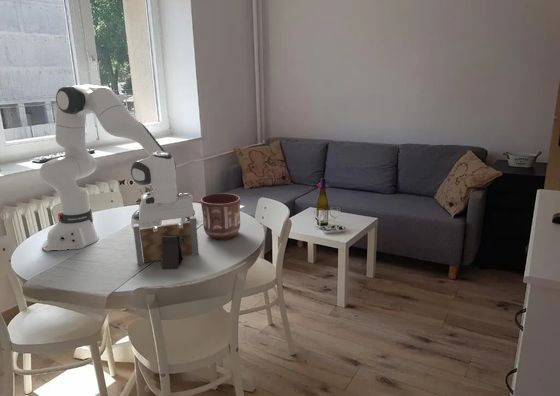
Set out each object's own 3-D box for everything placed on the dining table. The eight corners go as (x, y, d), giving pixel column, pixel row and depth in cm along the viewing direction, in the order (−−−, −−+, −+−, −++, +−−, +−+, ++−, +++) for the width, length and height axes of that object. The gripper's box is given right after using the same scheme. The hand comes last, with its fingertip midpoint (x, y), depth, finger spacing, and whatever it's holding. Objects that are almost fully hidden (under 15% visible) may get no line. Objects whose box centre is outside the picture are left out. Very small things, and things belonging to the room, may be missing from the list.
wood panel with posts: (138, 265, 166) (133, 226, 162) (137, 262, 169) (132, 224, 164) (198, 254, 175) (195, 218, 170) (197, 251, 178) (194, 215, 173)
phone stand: (177, 269, 162) (174, 240, 159) (162, 269, 162) (159, 240, 159) (183, 259, 171) (180, 231, 167) (168, 259, 171) (165, 231, 168)
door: (144, 264, 166) (140, 231, 162) (143, 261, 169) (139, 228, 165) (193, 256, 173) (191, 223, 169) (192, 252, 176) (189, 221, 172)
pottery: (206, 245, 184) (203, 205, 179) (200, 231, 200) (197, 194, 195) (245, 240, 189) (244, 201, 184) (236, 227, 205) (235, 191, 200)
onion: (195, 217, 219) (194, 203, 217) (194, 221, 213) (193, 206, 211) (184, 218, 219) (183, 203, 216) (182, 222, 213) (181, 206, 211)
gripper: (191, 190, 165) (193, 223, 169) (136, 196, 158) (140, 230, 162) (194, 194, 160) (196, 228, 164) (137, 200, 152) (141, 236, 156)
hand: (168, 229), depth 163 cm, fingers open, 8 cm apart
